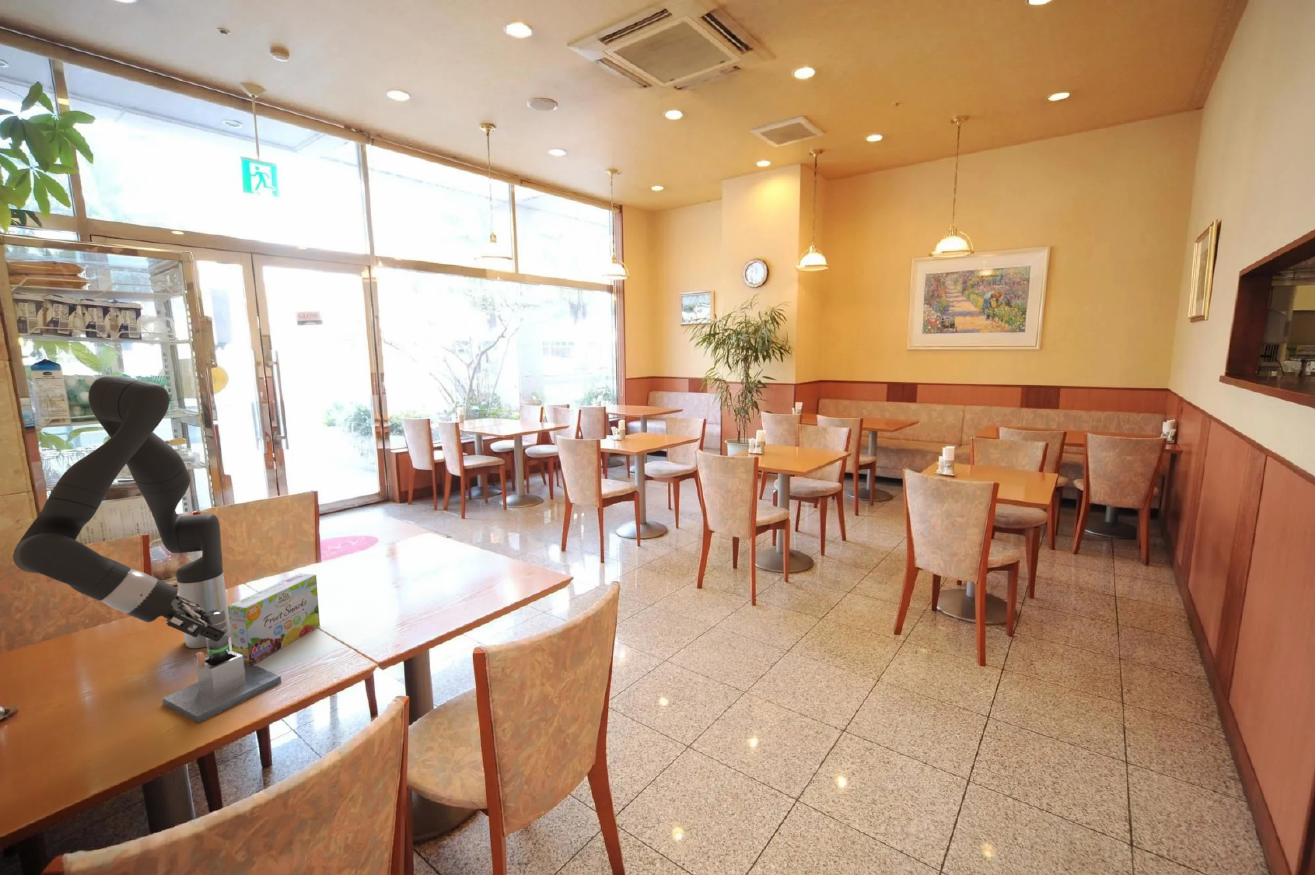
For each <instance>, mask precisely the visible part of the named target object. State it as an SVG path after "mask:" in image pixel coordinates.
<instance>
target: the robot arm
mask: <svg viewBox="0 0 1315 875" xmlns="http://www.w3.org/2000/svg"><path fill="white" fill-rule="evenodd" d="M87 396H88V404H89V408H90V410H91V412H92V414H93V415H94V417H95V418H96V419H97V421H98V422H99V424H100V425H101V426H102V428H103V429H104V431H105V432H106V433H107V435H108V436H109V437H110V438H109V439H108V440H106V441H105V442H104V443H103V444H101V445H100V446H99V447H97V448H95V450H93V451H92V452H89V453H88V454H86V455H85V456H84V457H82V458H81V459H79V460H78V461H76V462H75V463H74V464H72V465H71V466H70V467H69V468H67V470H66V471H65V472H64V473H63V474H62V476H61V477H60V478H59V480H58V481H57V483H56V484H55V486H54V487H53V489H52V491H51V492H50V494H49V496H48V498H46V501H45V503H44V505H43V507H42V509H41V511H40V513H39V514H38V516H37V517H36V518H35V520H33V522H32V523H31V525H30V526H29V527H28V528H27V530H26V531H25V532H24V534H23V536H22V537H21V539H20V540H19V541H18V543H17V544H16V547H15V548H14V550H13V554H12V560H13V562H14V565H15V566H16V567H17V568H18V569H20V570H22V571H24V572H27V573H33V574H39V575H43V576H45V577H48V578H51V579H53V580H55V581H58V582H60V583H64V584H66V585H68V586H70V588H72V590H75V591H76V592H78V593H80V594H81V595H82V594H83V595H85V596H86V597H89V598H92V599H94V600H96V601H99V602H101V603H103V604H105V605H107V606H108V607H110V608H112V609H114V610H117V611H119V612H122V613H124V614H126V615H128V616H131V617H134V618H136V619H137V620H141V621H142V622H144V623H151V622H154V621H156V619H158V618H159V617H163V618H164V619H166V625H167V626H168V627H171V628H173V629H176V630H177V631H180V632H182V633H183V635H184V642H185V646H186V648H189V649H199V648H206V647H207V641H206V638H209V639H211V640H213V641H216V642H217V641H219V640H220V639H221V638H222V637H223V636H224V634H225V632H224V631H223V630H221V629H218V628H216V627H214V626H212V625H209V624H207V623H206V622H204V618H203V615H204V614H205V613H207V612H210V611H213V610H219V609H222V610H224V611H225V618H226V625H227V633H228V638H230V637H231V635H230V625H229V615H228V606H229V605H228V600H227V591H226V583H225V577H224V568H223V555H222V554H223V553H222V551H223V550H222V538H221V534H222V533H221V524H220V522H219V521H220V520H219V518H218V516H217V515H216V514H214V513H200V514H191V515H189V514H188V515H179V514H178V513H177V512H176V509H177V506H178V505H179V503H180V502H181V501H182V499H183V497H184V496H185V494H186V493H187V491H188V489H189V487H190V482H191V477H190V473H189V471H188V468H187V467H186V464H185V461H184V460H183V458H182V457H181V454H180V453H178V451H177V450H176V449H175V448H174V447H173V446H171V445H170V444H169V443H168V442H166V441H165V440H164V439H162V438H161V437H159V435H157V434H156V433H155V432H154V431H155V429H157V427H158V426H159V424H160V423H161V422H162V421H163V419H164V418H165V416H166V413H168V409H169V407H170V395H169V392H168V390H167V389H166V388H165V387H164V386H163V385H161V384H159V383H154V382H152V381H151V382H150V381H146V380H145V381H144V380H140V379H136V378H131V377H130V378H129V377H122V376H116V375H113V376H111V375H107V376H102V377H99V378H97V379H96V380H94V382H92V383H91V385H90V388H89V390H88V395H87ZM126 465H127V468H128V469H129V473H130V474H131V477H132V479H133V480H134V483H135V484H136V486H137V489H138V490H139V491H140V493H141V494H142V497H143V498H144V500H145V502H146V504H147V506H148V509H149V510H150V512H151V515H152V516H153V519H154V522H155V525H156V528H157V530H158V534H159V537H160V541H161V542H162V544H163V546H164V548H165V549H166V550H167V551H168V552H169V553H171V554H186V553H194V552H202V553H201V554H202V555H201V557H199V558H197V559H196V560H193V561H190V562H188V563H186V564H184V565H182V566H180V567H179V568H177V570H176V572H175V573H176V574H175V576H176V584H177V587H176V586H173V585H171V584H169V583H167V582H166V581H163V580H161V579H158V578H157V577H154V576H152V575H150V574H148V573H145V572H143V571H140V570H137V569H134V568H131V567H129V566H127V565H124V564H122V563H121V562H118V561H117V560H115V559H112V558H109V557H106V556H104V555H101V554H100V553H98V552H97V551H95V550H93V549H92V548H90V547H88V546H87V545H85V544H83V543H82V542H80V541H78V540H77V538H78V536H79V535H80V533H81V531H82V529H83V528H84V527H85V525H86V524H88V523H89V522H90V521H91V519H93V517H94V516H95V514H96V512H97V510H98V509H99V507H100V506H101V504H102V502H103V500H104V498H105V497H106V495H107V493H108V491H109V489H110V487H111V486H112V484H113V483H114V481H115V479H116V478H117V477H118V475H119V474H120V472H121V471H122V470H123V469H124V467H125V466H126Z"/></svg>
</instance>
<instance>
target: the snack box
mask: <svg viewBox="0 0 1315 875" xmlns="http://www.w3.org/2000/svg"><path fill="white" fill-rule="evenodd" d="M317 580H318V579H317V574H314V573H313V574H312V573H301V572H300V573H297V574H295V575H293V576H291V577H289V578H287V579H284V580H282V581H279V582H278V583H275V584H274V585H271V586H269V587H267V588H265V589H262V590H260V591H258V592H256V593H253V594H251V595H249V596H246V597H244V598H243V599H241V600H238V601H236V602H233V603H231V604H229V605H227V606H228V615H229V625H230V641H231V642H230V644H231V651H233V652H236V653H238V654H240V655H243V661H244V662H245V661H246V662H248V663H251V664H253V665H256V664H257V663H260V662H261V661H263V660H264V659H266V658H268V657H269V656H271V655H272V654H274V653H277V652H278V651H280V650H282V649H283V648H284V647H286V646H288V645H290V644H292V643H294V642H295V641H297V640H299V639H300V638H302V637H304V636H306V635H307V634H309V633H311V632H312V631H313V630H316V629H318V628H319V627H320V626H321V621H320V610H319V597H318V596H319V594H318V582H317ZM318 626H319V627H318ZM315 628H316V629H315ZM311 630H312V631H311ZM310 631H311V632H310Z"/></svg>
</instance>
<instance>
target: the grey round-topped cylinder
mask: <svg viewBox="0 0 1315 875" xmlns="http://www.w3.org/2000/svg"><path fill="white" fill-rule="evenodd" d="M203 618H204V622H206V623H207V624H209V625H212V626H214V627H216V628H218V629H221V630H223V631H224V632H225V634H224V636H223V637H222V638H221V639H220V640H219V641H217V642H216V641H213V640H211V639H209V638H206V641H207V648H206V650H207V655H208V657H209V664H210V665H212V666H216V665H218V664H220V663H223V662H225V661H227V660H230V659H231V658H230V650H231V649H230V642H229V637H228V633H227V625H226V618H225V611H224V610H222V609H219V610H213V611H210V612H207V613H205V614H204V615H203Z"/></svg>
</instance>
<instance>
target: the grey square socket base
mask: <svg viewBox="0 0 1315 875" xmlns="http://www.w3.org/2000/svg"><path fill="white" fill-rule="evenodd" d="M229 650H230V658H231V659H230V660H227V661H225V662H223V663H220V664H218V665H216V666H212V665H210V664H209V656H208V657H205V653H204V652H202V651H199V652H197V653H196V654H195V655H196V660H197V662H195V663H196V671H197V678H198V681H197V682H195V683H193V684H190V685H188V686H185V687H184V688H181V689H179V690H177V691H175V692H172V693H170V694H168V695H165V696H163V697H162V698H161V699H162V704H163V705H164V706H165V707H167V708H169V709H171V710H173V711H175V712H176V713H178V714H180V715H182V716H184V717H185V718H187V719H189V720H191V721H193V722H194V723H196V722H197V723H196V724H200V723H202V722H204V721H206V720H208V719H210V718H212V717H214V716H216V715H219V714H220V713H222V712H224V711H226V710H228V709H230V708H233V707H235V706H236V705H239V704H241V703H242V702H245V701H247V700H249V699H251V698H253V697H254V695H255V696H256V694H257V695H258V694H260V693H262V692H264V691H267V690H269V689H272V688H273V687H275V686H277V685H279V684H281V683H282V678H281V677H282V676H281V675H279V674H277V673H274V672H272V671H269V670H267V669H266V668H265V669H264V668H263V667H261V666H258V665H256V664H254V665H253V664H251V663H248V662H246V661H245V662H244V661H243V655H240V654H238V653H236V652H233V651H232V649H229ZM248 698H249V699H248ZM246 699H247V700H246ZM244 700H245V701H244ZM238 703H239V704H238ZM221 711H222V712H221ZM219 712H220V713H219ZM213 715H214V716H213ZM211 716H212V717H211ZM209 717H210V718H209ZM205 719H206V720H205ZM203 720H204V721H203ZM201 721H202V722H201Z"/></svg>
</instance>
